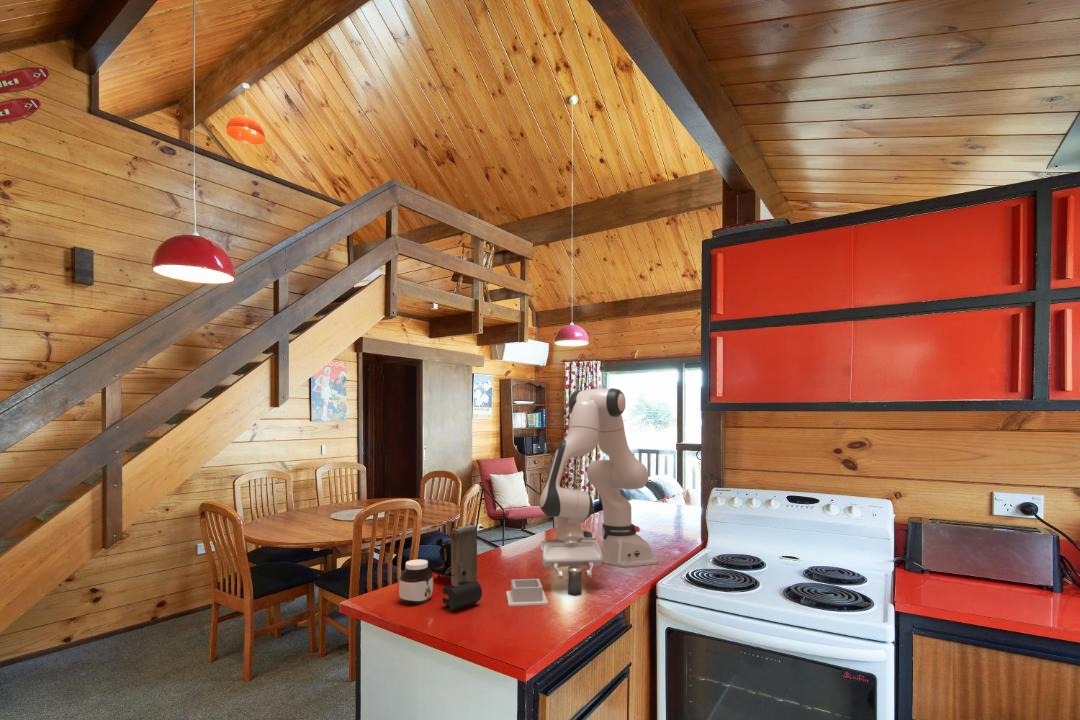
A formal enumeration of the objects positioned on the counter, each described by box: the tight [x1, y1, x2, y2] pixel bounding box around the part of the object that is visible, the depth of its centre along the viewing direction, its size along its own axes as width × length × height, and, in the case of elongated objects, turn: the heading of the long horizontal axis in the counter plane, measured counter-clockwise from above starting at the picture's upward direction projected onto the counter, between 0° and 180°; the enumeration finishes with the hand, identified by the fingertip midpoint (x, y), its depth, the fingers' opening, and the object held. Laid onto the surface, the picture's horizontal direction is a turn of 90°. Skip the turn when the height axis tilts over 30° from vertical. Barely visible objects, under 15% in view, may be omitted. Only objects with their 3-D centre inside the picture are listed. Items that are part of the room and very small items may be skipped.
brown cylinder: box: [567, 566, 583, 597], centre depth 174 cm, size 4×4×8 cm
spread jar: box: [398, 559, 434, 606], centre depth 169 cm, size 12×11×12 cm
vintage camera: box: [430, 522, 478, 586], centre depth 186 cm, size 10×15×20 cm, turn 54°
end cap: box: [442, 581, 483, 612], centre depth 162 cm, size 10×7×7 cm
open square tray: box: [505, 578, 549, 607], centre depth 169 cm, size 12×12×5 cm
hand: (574, 577), depth 174 cm, fingers open, 8 cm apart
